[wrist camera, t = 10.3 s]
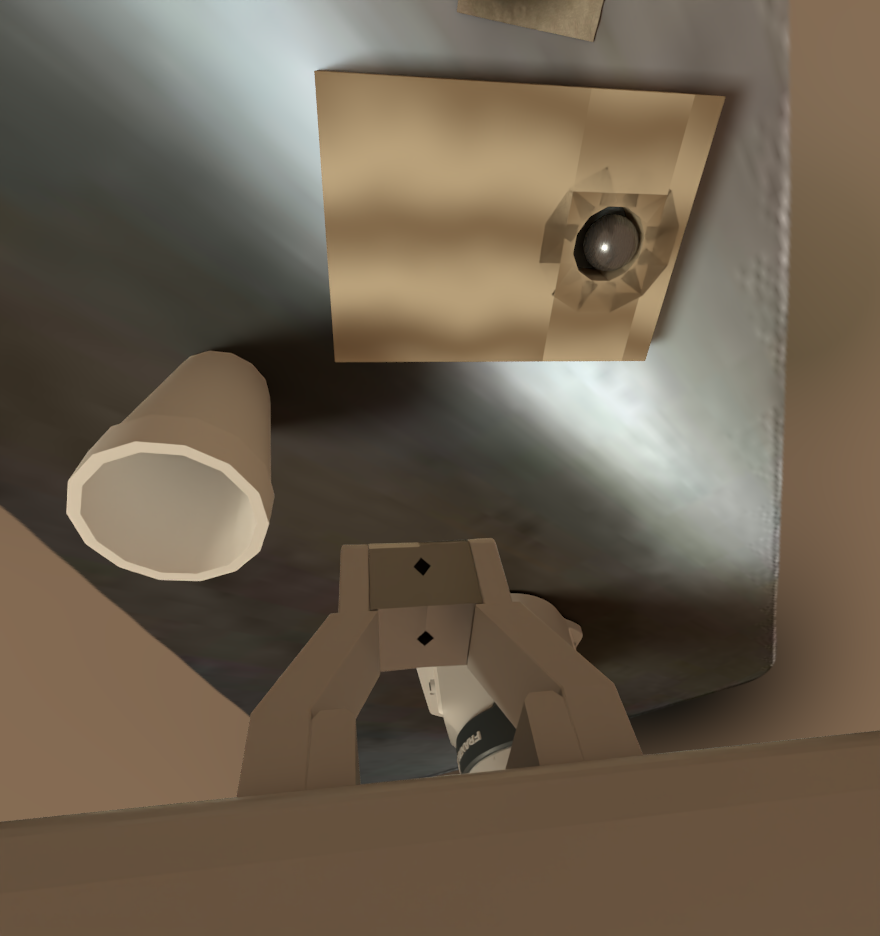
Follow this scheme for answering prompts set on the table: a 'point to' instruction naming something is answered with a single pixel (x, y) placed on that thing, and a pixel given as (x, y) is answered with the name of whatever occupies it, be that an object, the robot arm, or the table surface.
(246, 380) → the foam cup
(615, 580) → the table surface
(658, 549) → the table surface
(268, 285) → the table surface
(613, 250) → the ball
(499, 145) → the wooden board
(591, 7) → the condiment
